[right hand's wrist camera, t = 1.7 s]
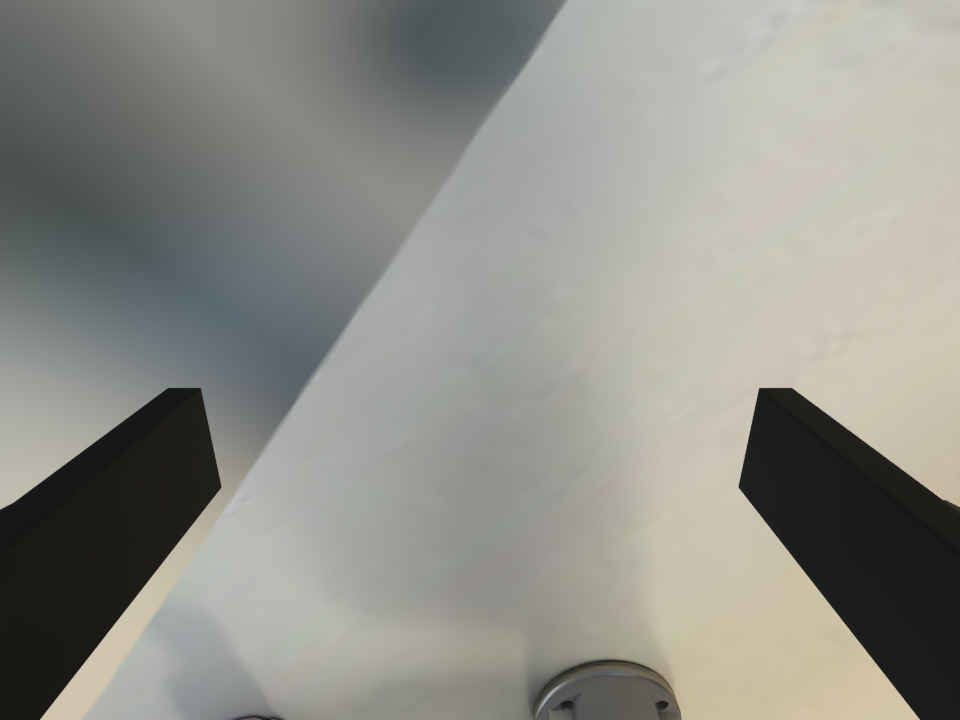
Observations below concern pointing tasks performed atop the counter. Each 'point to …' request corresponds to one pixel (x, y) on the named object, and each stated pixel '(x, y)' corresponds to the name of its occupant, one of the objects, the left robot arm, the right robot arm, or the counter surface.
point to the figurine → (253, 718)
